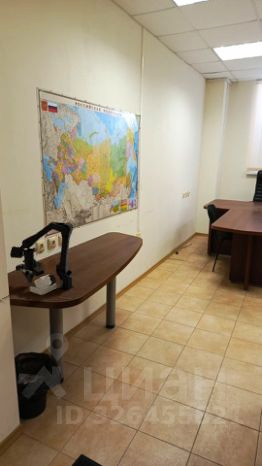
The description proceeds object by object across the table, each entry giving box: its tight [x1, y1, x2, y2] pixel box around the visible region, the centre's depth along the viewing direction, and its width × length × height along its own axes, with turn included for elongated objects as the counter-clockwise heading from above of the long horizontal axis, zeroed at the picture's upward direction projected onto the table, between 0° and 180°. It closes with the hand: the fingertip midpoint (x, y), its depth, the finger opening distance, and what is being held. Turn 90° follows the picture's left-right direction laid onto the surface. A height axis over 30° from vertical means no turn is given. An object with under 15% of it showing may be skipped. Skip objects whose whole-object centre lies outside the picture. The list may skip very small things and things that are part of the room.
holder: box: [29, 282, 57, 296], centre depth 184 cm, size 9×12×3 cm
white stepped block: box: [33, 274, 57, 290], centre depth 180 cm, size 7×7×12 cm
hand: (30, 283), depth 190 cm, fingers closed
